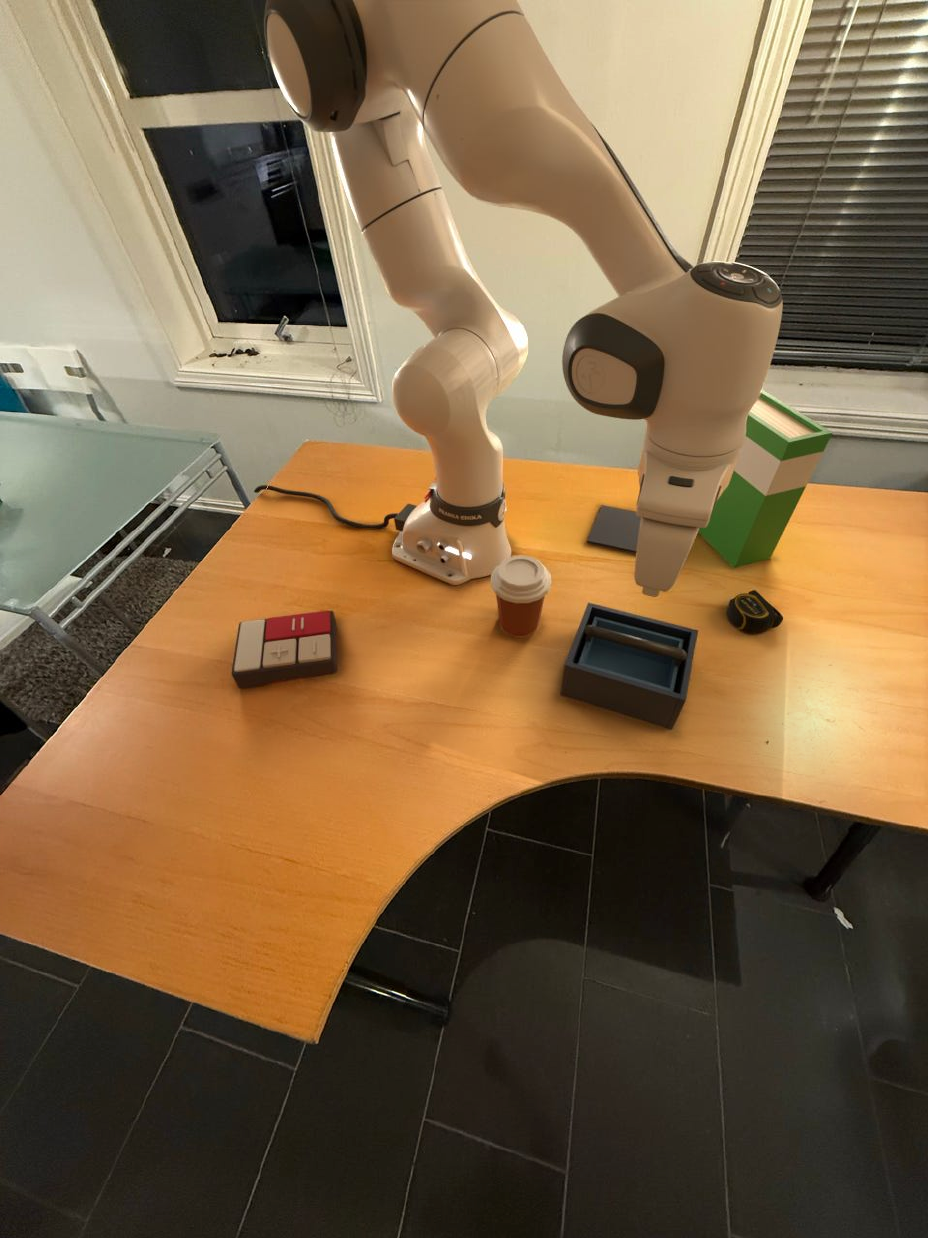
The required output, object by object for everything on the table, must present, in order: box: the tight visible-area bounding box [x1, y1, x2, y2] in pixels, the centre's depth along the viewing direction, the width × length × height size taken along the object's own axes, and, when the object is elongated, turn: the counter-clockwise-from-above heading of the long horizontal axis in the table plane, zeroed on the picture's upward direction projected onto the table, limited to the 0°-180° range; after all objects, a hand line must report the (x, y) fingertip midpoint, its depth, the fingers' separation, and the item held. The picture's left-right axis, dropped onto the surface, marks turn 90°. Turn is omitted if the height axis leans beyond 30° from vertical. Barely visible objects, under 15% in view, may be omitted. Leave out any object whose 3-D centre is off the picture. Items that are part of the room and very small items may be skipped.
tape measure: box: [725, 589, 784, 635], centre depth 82 cm, size 7×7×4 cm
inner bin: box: [578, 617, 687, 692], centre depth 74 cm, size 14×10×9 cm
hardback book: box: [697, 388, 834, 569], centre depth 90 cm, size 18×7×24 cm, turn 17°
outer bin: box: [559, 602, 699, 731], centre depth 75 cm, size 16×13×8 cm
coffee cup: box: [490, 554, 552, 638], centre depth 81 cm, size 9×9×12 cm
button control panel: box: [231, 610, 338, 690], centre depth 83 cm, size 11×4×15 cm
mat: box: [586, 504, 641, 555], centre depth 100 cm, size 16×12×1 cm
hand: (657, 565), depth 62 cm, fingers open, 8 cm apart
